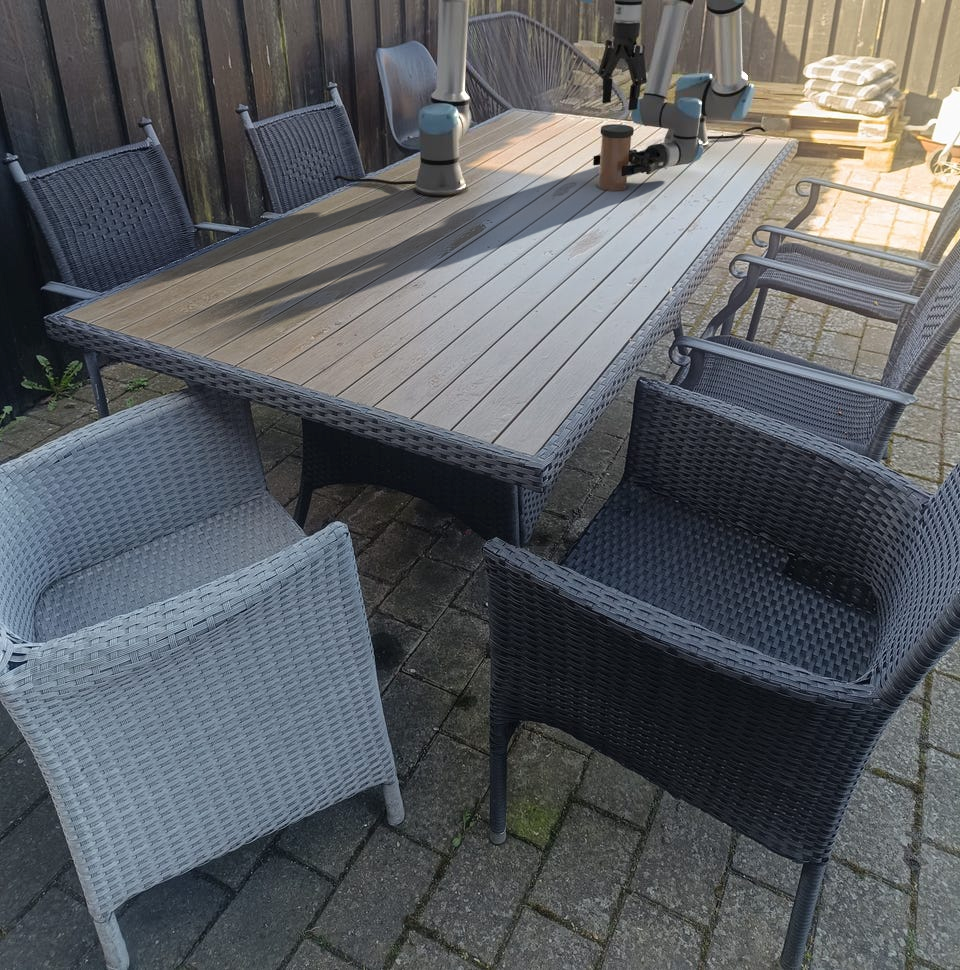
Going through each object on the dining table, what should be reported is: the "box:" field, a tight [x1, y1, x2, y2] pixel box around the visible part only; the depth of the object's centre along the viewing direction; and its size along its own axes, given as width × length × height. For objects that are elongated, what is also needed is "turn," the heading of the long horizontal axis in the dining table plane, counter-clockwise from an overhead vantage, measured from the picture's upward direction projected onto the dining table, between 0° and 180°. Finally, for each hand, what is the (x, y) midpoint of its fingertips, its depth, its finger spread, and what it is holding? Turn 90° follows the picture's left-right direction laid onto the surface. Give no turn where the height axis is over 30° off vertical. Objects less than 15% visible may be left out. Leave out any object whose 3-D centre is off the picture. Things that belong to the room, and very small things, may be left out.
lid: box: [600, 123, 635, 138], centre depth 252 cm, size 10×10×2 cm
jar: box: [597, 135, 632, 192], centre depth 256 cm, size 9×9×17 cm
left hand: (619, 106), depth 248 cm, fingers open, 11 cm apart
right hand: (607, 165), depth 256 cm, fingers open, 13 cm apart
